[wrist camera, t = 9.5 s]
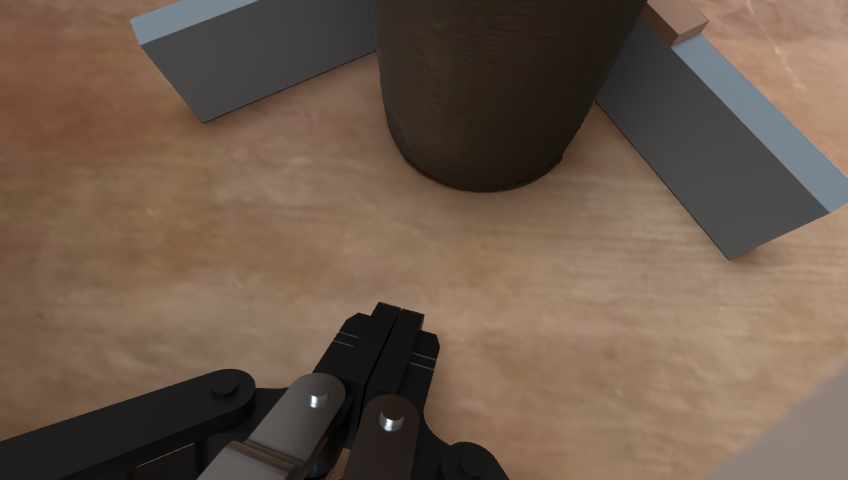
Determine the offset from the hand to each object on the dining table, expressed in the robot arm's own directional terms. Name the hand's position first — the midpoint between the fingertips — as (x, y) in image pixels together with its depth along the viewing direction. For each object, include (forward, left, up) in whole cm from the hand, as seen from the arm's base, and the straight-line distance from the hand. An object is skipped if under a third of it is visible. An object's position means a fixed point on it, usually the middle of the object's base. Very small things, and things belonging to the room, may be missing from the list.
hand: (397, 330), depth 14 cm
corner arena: (+6, +6, -4) cm, 10 cm away
